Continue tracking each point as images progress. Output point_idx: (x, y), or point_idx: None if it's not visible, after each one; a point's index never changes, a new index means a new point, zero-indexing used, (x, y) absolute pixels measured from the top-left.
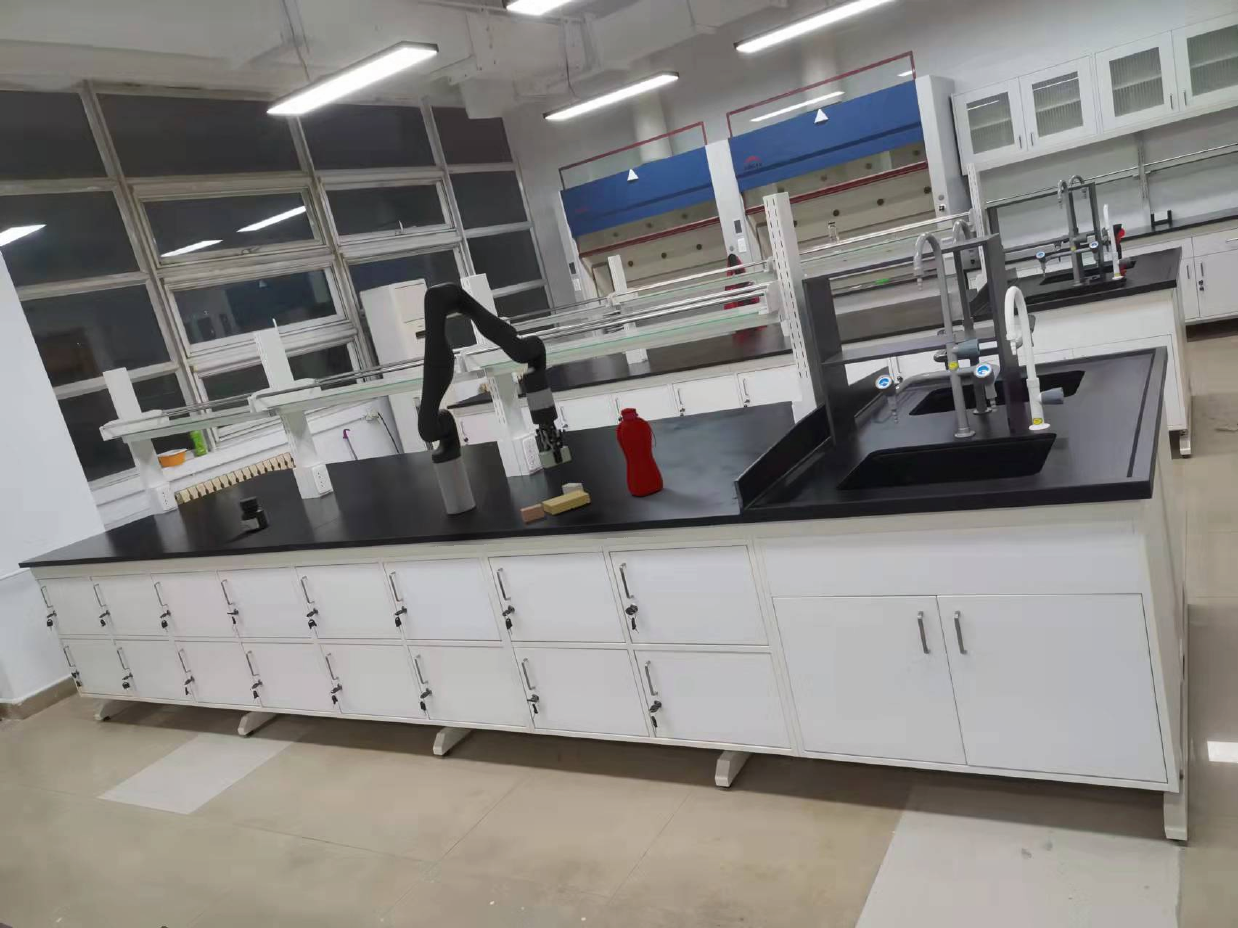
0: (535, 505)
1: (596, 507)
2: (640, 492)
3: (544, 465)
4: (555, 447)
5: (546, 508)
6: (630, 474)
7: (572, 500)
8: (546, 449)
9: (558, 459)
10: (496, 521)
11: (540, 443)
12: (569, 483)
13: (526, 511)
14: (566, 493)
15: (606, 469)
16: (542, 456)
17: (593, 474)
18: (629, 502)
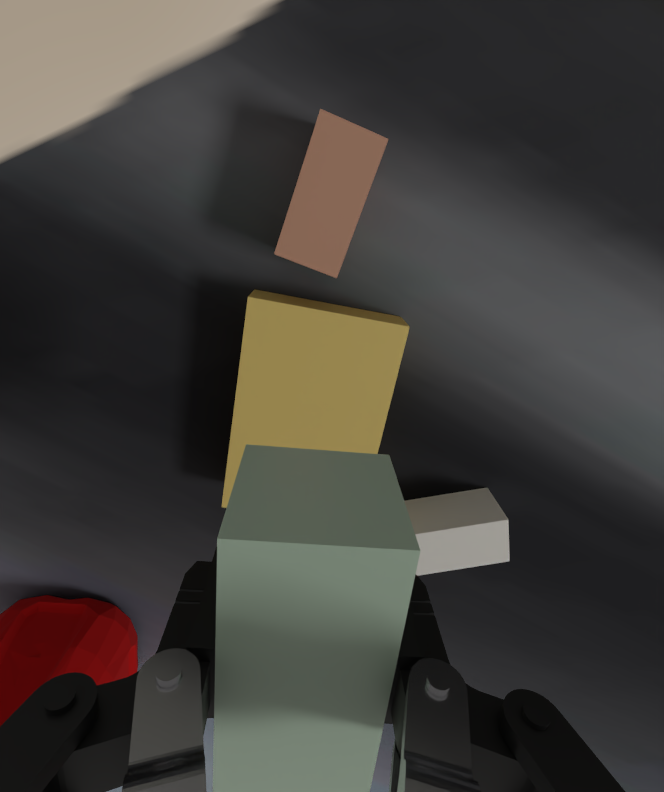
0: (335, 238)
1: (104, 447)
2: (5, 611)
3: (290, 459)
4: (10, 717)
5: (348, 310)
6: (25, 688)
7: (232, 420)
8: (410, 675)
9: (183, 588)
10: (582, 46)
11: (591, 759)
12: (498, 557)
13: (310, 144)
14: (471, 499)
15: (598, 735)
16: (272, 522)
17: (612, 690)
18: (3, 540)
